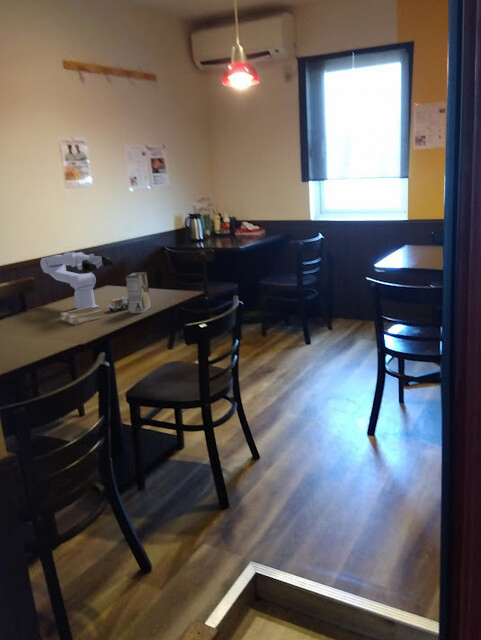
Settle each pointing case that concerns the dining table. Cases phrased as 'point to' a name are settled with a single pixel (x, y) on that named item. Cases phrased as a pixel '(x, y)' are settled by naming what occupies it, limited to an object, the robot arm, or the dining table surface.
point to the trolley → (118, 303)
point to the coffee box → (138, 292)
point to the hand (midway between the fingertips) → (103, 265)
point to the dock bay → (81, 315)
